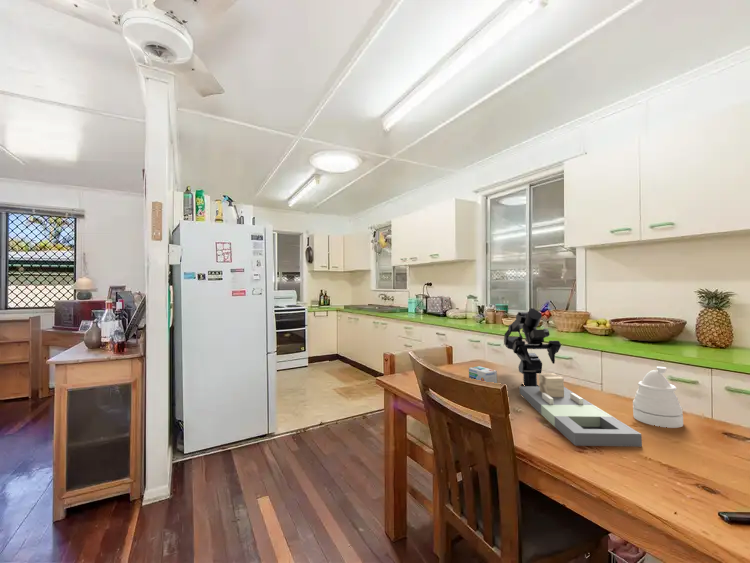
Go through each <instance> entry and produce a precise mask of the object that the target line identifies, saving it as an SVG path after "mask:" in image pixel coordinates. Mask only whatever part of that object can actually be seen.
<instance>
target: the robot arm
mask: <svg viewBox="0 0 750 563" xmlns="http://www.w3.org/2000/svg"><path fill="white" fill-rule="evenodd" d="M542 316H543V314H542V313H541V311H539V310H536V309H535V308H531V307H530V308H529V310H528V311H518V312H517V313H516V315H515V320H514V321H513V322H512V323H511V324H509V325H508V329H507V330H506V331H505V333H504V335H503V345H504V346H505V347H506V348H507V349H509V350H512V352H513V354H516V355H517V358H518V359H519V360H520V362H519V364H518V372H519V373H520V374H522V376H523V377H522V378H523V379H522V380H523V381H522V382H523V383H524V385H525V386H539V385H538V375H537V374H539V373H543V372H542V371H543V370H542V369H543V362H542V360H541V359H540V358H539V356H538V355H537V354H536V353H535V352H528V350H546V352H547V355H548V357H549V358H550V361H551V363H552V365H554V364H555V363H556V362H555V361H556V354H558V353H559V351H560V349H561V346H562V344H561V341H559V340H549V341H548V343H544V342H545V338H548V337H549V336H550V335H551V334H550V331H549V329H548V328H543V329H538V328H537V327H538V326H539V325H540V322H541V319H542V318H543V317H542ZM521 329H522V330H521ZM521 331H522V333H523V334H524V337H525V340H523V338H524V337H523V335H522V334H521ZM512 333H518V335H519V336H510V335H511V334H512ZM526 342H527V343H526Z"/></svg>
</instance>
